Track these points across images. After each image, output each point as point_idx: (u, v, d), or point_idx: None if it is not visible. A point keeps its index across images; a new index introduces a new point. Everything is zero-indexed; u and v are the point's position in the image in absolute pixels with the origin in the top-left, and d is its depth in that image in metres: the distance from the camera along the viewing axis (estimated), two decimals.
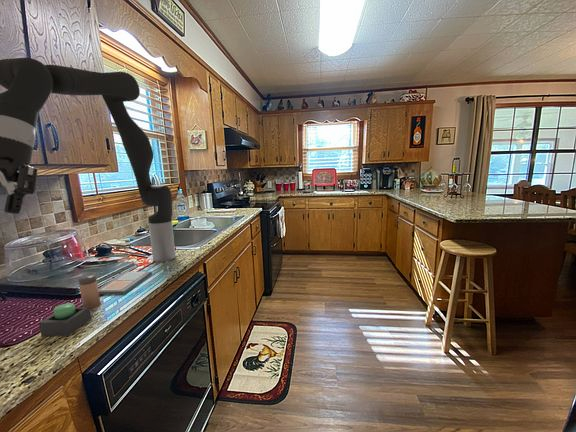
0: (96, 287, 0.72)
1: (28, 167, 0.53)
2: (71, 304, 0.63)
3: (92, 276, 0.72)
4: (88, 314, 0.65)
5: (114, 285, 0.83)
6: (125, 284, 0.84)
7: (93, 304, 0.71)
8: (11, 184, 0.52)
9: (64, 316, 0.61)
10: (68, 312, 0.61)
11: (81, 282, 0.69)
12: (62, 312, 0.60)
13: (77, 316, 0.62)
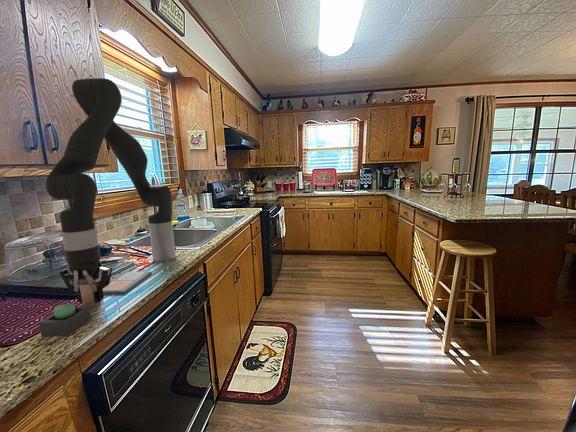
0: None
1: (108, 271, 0.70)
2: (71, 304, 0.63)
3: None
4: (88, 314, 0.65)
5: (114, 285, 0.83)
6: (125, 284, 0.84)
7: (93, 304, 0.71)
8: (95, 283, 0.70)
9: (64, 316, 0.61)
10: (68, 312, 0.61)
11: (81, 282, 0.69)
12: (62, 312, 0.60)
13: (77, 316, 0.62)
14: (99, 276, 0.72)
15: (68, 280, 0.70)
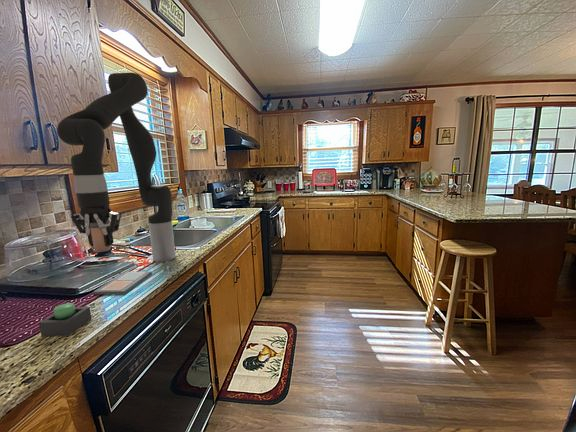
0: None
1: (117, 216, 0.74)
2: (71, 304, 0.63)
3: None
4: (88, 314, 0.65)
5: (114, 285, 0.83)
6: (125, 284, 0.84)
7: (103, 247, 0.75)
8: (105, 227, 0.74)
9: (64, 316, 0.61)
10: (68, 312, 0.61)
11: (92, 225, 0.73)
12: (62, 312, 0.60)
13: (77, 316, 0.62)
14: (109, 221, 0.76)
15: (79, 224, 0.74)
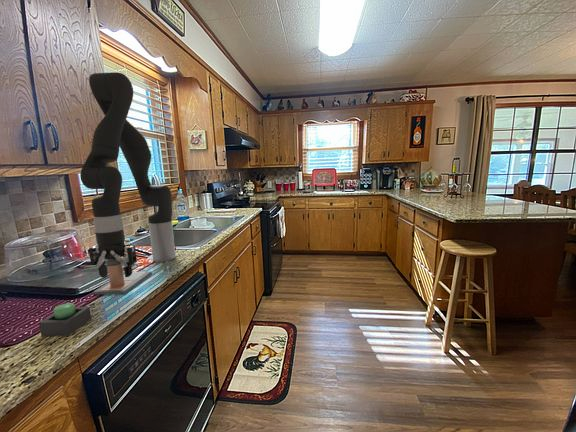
0: (121, 268, 0.83)
1: (131, 248, 0.81)
2: (71, 304, 0.63)
3: None
4: (88, 314, 0.65)
5: None
6: (125, 284, 0.84)
7: (119, 283, 0.82)
8: (124, 260, 0.81)
9: (64, 316, 0.61)
10: (68, 312, 0.61)
11: (109, 263, 0.80)
12: (62, 312, 0.60)
13: (77, 316, 0.62)
14: (125, 255, 0.83)
15: (93, 257, 0.81)
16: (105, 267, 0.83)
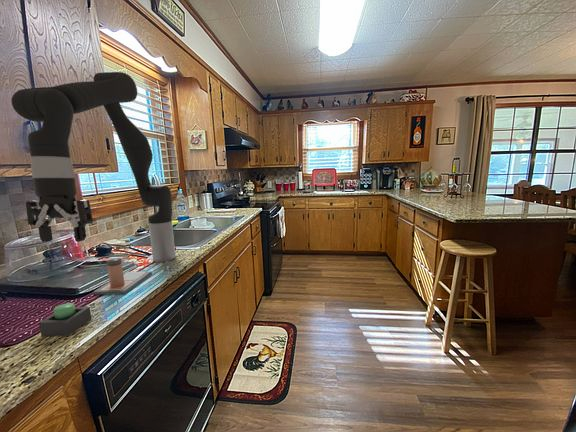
0: (121, 268, 0.83)
1: (83, 202, 0.61)
2: (71, 304, 0.63)
3: (118, 259, 0.82)
4: (88, 314, 0.65)
5: None
6: (125, 284, 0.84)
7: (119, 283, 0.82)
8: (73, 218, 0.61)
9: (64, 316, 0.61)
10: (68, 312, 0.61)
11: (109, 264, 0.80)
12: (62, 312, 0.60)
13: (77, 316, 0.62)
14: (77, 213, 0.63)
15: (32, 214, 0.61)
16: (49, 229, 0.63)
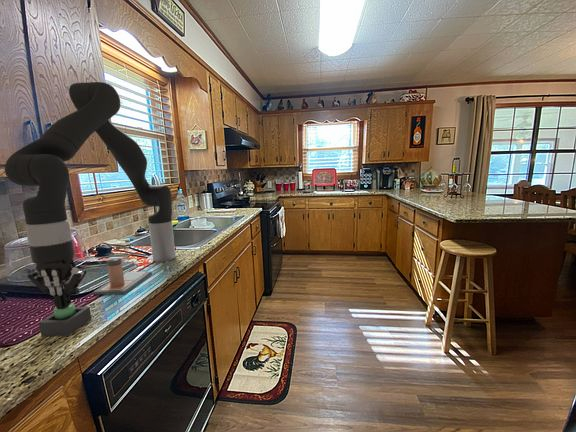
0: (121, 268, 0.83)
1: (80, 275, 0.60)
2: (71, 304, 0.63)
3: (118, 259, 0.82)
4: (88, 314, 0.65)
5: None
6: (125, 284, 0.84)
7: (119, 283, 0.82)
8: (62, 287, 0.60)
9: (64, 316, 0.61)
10: (68, 312, 0.61)
11: (109, 264, 0.80)
12: (62, 312, 0.60)
13: (77, 316, 0.62)
14: (69, 278, 0.62)
15: (40, 283, 0.60)
16: None
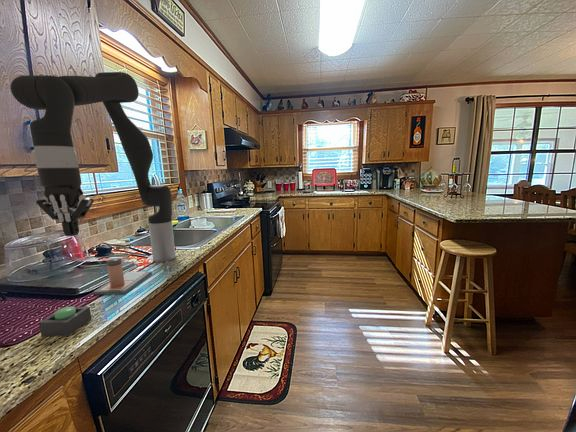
0: (121, 268, 0.83)
1: (88, 202, 0.61)
2: (72, 308, 0.63)
3: (118, 259, 0.82)
4: (88, 314, 0.65)
5: None
6: (125, 284, 0.84)
7: (119, 283, 0.82)
8: (70, 213, 0.61)
9: None
10: (69, 316, 0.61)
11: (109, 264, 0.80)
12: (63, 315, 0.61)
13: (77, 316, 0.62)
14: (77, 206, 0.63)
15: (49, 209, 0.61)
16: None
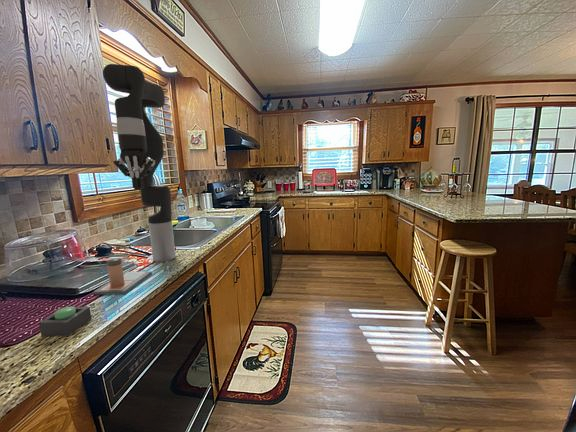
0: (121, 268, 0.83)
1: (153, 162, 0.79)
2: (72, 308, 0.63)
3: (118, 259, 0.82)
4: (88, 314, 0.65)
5: None
6: (125, 284, 0.84)
7: (119, 283, 0.82)
8: (139, 171, 0.79)
9: None
10: (69, 316, 0.61)
11: (109, 264, 0.80)
12: (63, 315, 0.61)
13: (77, 316, 0.62)
14: (143, 167, 0.81)
15: (123, 168, 0.79)
16: None
